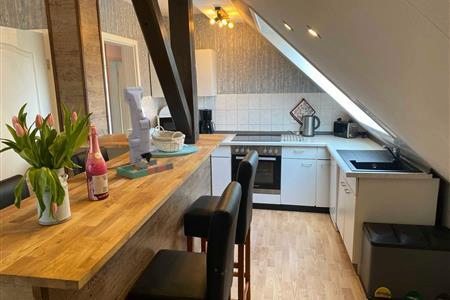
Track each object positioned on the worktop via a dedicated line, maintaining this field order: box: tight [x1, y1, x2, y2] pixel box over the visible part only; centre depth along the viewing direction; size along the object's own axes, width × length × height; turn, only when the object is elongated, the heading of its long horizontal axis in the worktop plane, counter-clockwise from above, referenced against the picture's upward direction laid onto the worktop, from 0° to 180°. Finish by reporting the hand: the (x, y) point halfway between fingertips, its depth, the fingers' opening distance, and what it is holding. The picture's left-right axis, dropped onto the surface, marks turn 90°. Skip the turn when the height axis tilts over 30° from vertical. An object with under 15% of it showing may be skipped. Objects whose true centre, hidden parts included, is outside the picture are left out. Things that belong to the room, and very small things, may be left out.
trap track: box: [115, 158, 174, 180], centre depth 176 cm, size 16×25×3 cm, turn 138°
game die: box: [132, 157, 151, 171], centre depth 172 cm, size 9×8×10 cm
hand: (147, 166), depth 177 cm, fingers closed
